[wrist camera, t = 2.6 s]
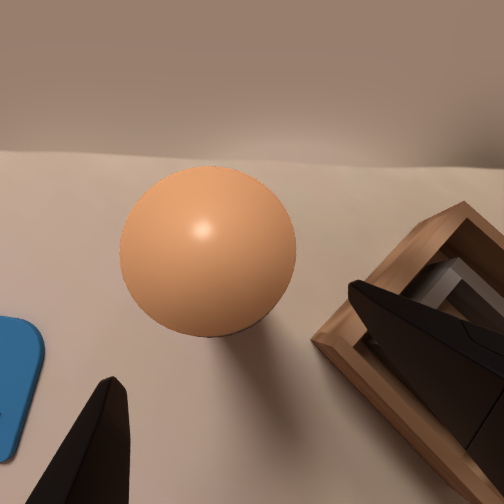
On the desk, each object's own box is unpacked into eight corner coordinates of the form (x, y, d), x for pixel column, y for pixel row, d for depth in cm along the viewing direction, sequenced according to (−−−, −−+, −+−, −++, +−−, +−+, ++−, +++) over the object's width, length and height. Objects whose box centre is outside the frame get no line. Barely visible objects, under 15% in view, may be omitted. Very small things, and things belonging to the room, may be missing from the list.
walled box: (450, 486, 18) (520, 542, 14) (310, 339, 19) (332, 346, 15) (548, 343, 21) (634, 351, 16) (418, 223, 22) (464, 200, 18)
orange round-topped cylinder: (224, 334, 19) (201, 386, 6) (185, 291, 20) (75, 240, 6) (266, 293, 20) (337, 250, 6) (228, 252, 20) (216, 132, 7)
